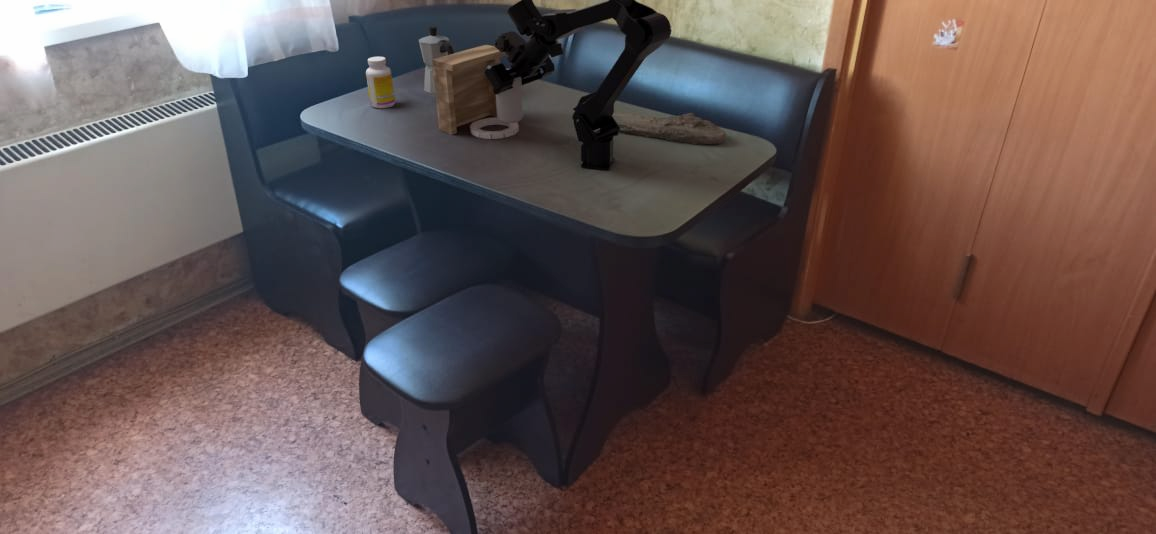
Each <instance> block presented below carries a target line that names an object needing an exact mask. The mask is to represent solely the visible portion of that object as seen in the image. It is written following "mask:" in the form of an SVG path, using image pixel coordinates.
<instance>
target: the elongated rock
mask: <svg viewBox="0 0 1156 534" xmlns="http://www.w3.org/2000/svg"><path fill="white" fill-rule="evenodd" d="M612 116H613V118H614V119H615V121H616V122H617V124H618V126H619V127H620V130H619V133H620V132H621V133H623V134H631V135H636V136H639V137H644V138H654V139H661V140H663V139H665V140H667V141H669V142H670V141H671V142H681V143H686V144H692V145H699V144H703V145H704V144H705V145H711V144H713V145H715V144H721V143H723V141H724V140H725V139H726V137H727V136H726V131H724V129H722V128H720V127H719V125H716V124H715V123H712V121H709V120H708V119H705V120H704V119H702V118H701V117H698V116H696V115H695V114H694V112H687V113H683V114H681V115H680V114H679V115H677V116H669V117H655V116H649V115H643V114H639V115H638V114H634V113H626V112H620V111H618V112H617V111H614V113H613V115H612Z"/></svg>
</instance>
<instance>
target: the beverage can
mask: <svg viewBox="0 0 1156 534" xmlns="http://www.w3.org/2000/svg"><path fill="white" fill-rule="evenodd" d="M506 69H507V70H508V69H509V68H506ZM512 86H513V88H512V89H509V90H507V91H504V92H502V93H499V94H496V109H497V117H496V118H498V119H499V120H500V121H501V122H504V123H516V122H517V123H518V122H520V121H521V120H522V118H523V117H524V113H523V112H524V110H523V108H524V107H523V88H522V86H523V85H522V79H521V77H519V78H516V79H514V82H513V85H512Z"/></svg>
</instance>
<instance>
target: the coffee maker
mask: <svg viewBox="0 0 1156 534" xmlns="http://www.w3.org/2000/svg"><path fill="white" fill-rule="evenodd" d="M437 29H438V27H437V26H433V25H432V26H428V30H429V35H428V36H423V37H421V38H419V39H418V43H419V48H420V52H421V56H422V59H423V63H424V64H425V67H424V82H423V83H424V85H423V86H424V87H423V88H424V89H423V92H424V91H426V92H429V93H430V94H429V93H428V94H429V95H436V93H435V83H434V74H433V64H432V60H433V59H436V58H440V57H443V56H447V55H450V54H454V53H455V51H454V49H453V46H452V45H451V44H450V38H449V37H447V36H445V35H443V36H442V35H437V32H438V30H437ZM426 92H425V93H426ZM431 93H432V94H431Z"/></svg>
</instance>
